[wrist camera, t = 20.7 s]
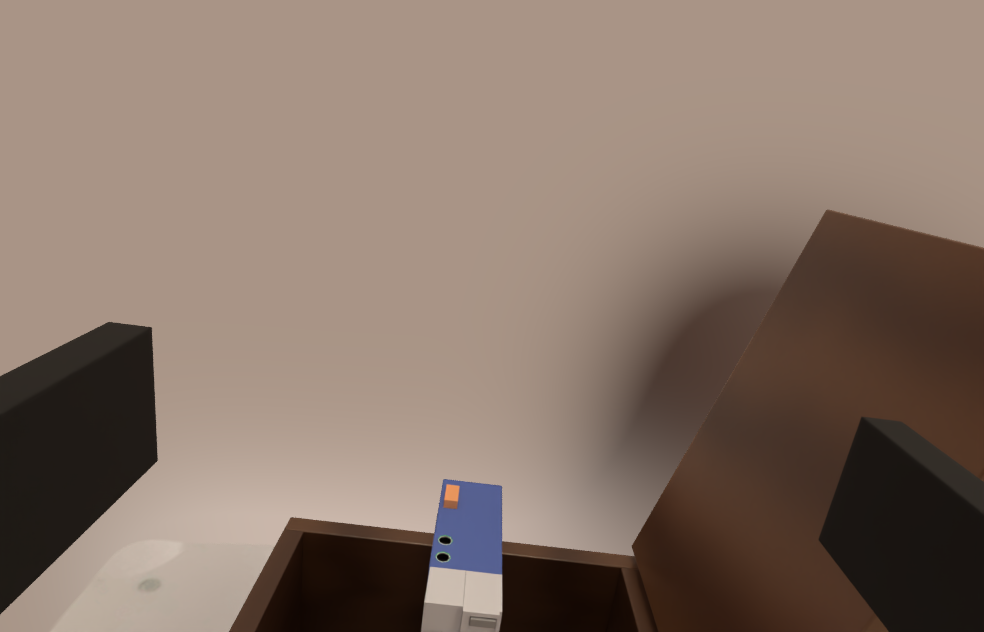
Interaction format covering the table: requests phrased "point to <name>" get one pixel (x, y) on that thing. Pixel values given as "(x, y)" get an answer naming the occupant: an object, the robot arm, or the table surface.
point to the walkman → (465, 560)
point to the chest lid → (816, 428)
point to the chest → (403, 582)
